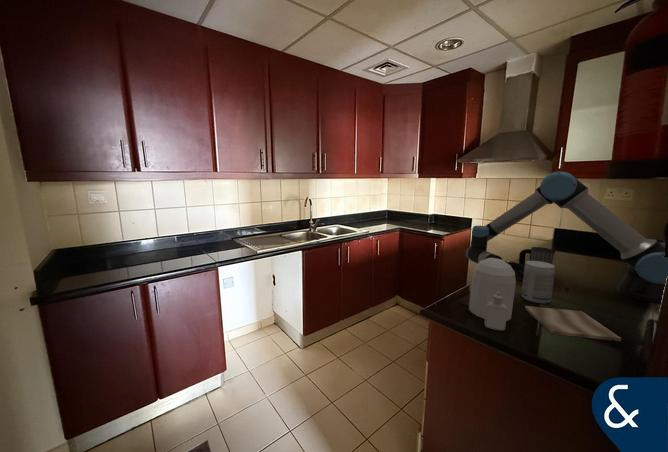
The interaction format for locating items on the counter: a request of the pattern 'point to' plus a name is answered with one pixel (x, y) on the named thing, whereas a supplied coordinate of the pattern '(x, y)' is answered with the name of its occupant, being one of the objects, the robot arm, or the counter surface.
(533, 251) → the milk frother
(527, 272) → the supplement tub
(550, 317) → the board
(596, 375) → the counter surface
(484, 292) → the container
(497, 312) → the eye dropper bottle
